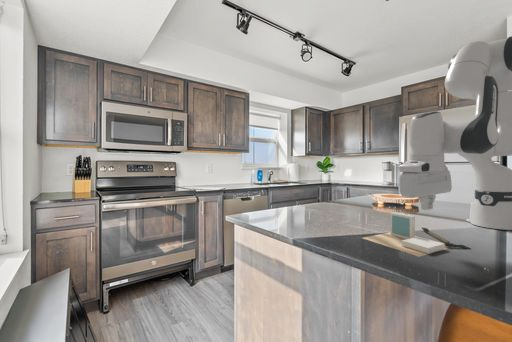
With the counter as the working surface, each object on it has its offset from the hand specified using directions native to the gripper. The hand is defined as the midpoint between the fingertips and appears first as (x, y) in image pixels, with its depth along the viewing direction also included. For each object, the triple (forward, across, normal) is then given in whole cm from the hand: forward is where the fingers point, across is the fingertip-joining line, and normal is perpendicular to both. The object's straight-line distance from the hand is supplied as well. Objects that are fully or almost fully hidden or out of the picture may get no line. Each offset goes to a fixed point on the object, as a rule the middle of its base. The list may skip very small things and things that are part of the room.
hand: (427, 209), depth 77 cm
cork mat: (+12, +2, -6) cm, 13 cm away
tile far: (+12, -2, -10) cm, 15 cm away
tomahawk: (+12, -11, -3) cm, 17 cm away
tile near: (+11, -1, 0) cm, 11 cm away
